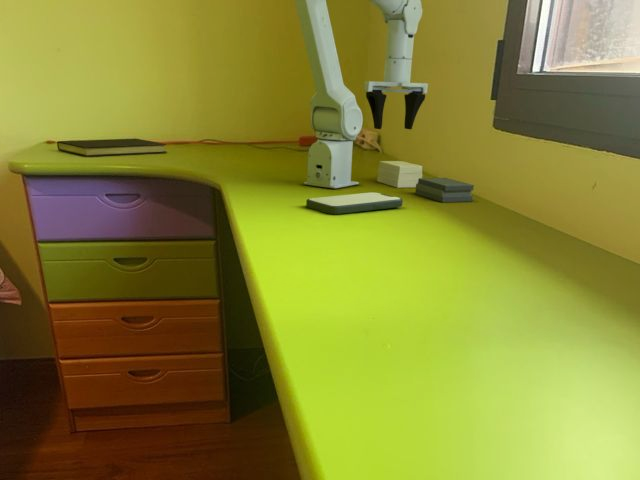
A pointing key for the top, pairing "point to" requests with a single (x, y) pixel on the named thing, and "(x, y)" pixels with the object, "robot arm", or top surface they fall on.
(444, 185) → the grey book stack
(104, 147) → the hardcover book
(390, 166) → the cream booklet
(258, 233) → the top surface
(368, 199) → the phone case
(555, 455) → the top surface
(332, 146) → the robot arm
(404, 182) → the cream rectangular block
